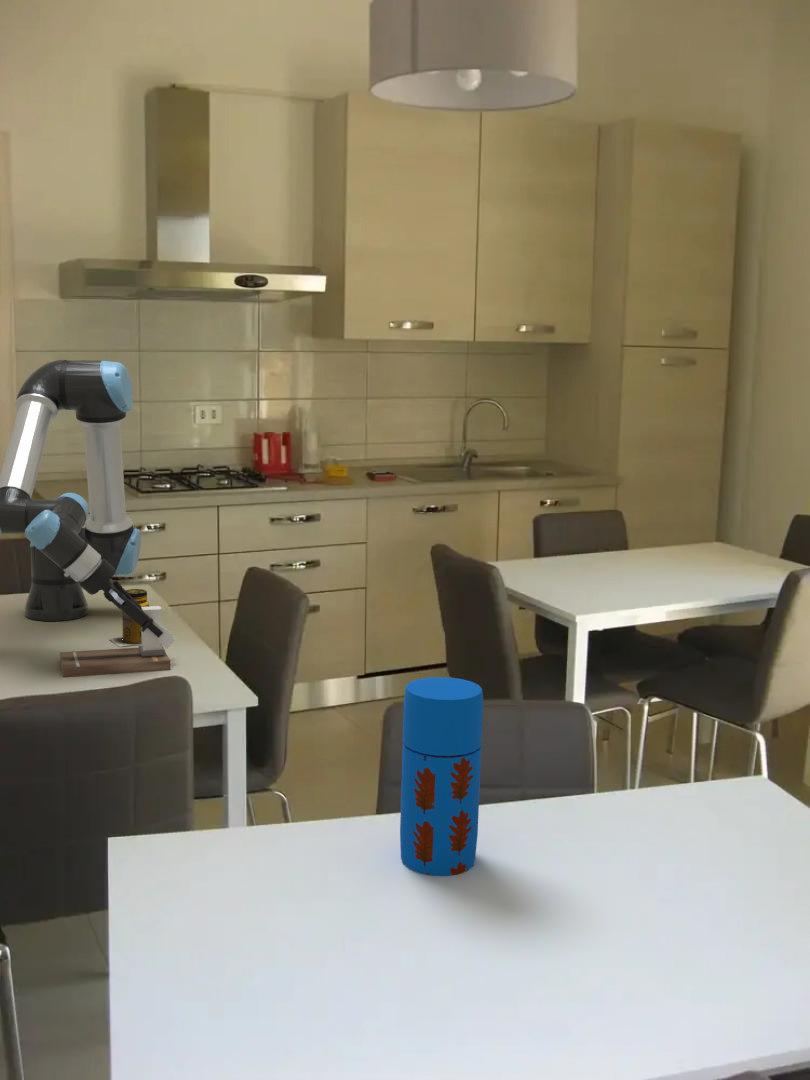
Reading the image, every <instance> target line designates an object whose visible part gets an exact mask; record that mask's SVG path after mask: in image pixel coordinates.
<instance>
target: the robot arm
mask: <svg viewBox="0 0 810 1080" xmlns="http://www.w3.org/2000/svg"><path fill="white" fill-rule="evenodd" d="M133 395H134V394H133V385H132V380H131V377H130V374H129V371H128V370H127V367H126V366H125V365H124V364H123V363H121V362H118V361H117V362H116V361H107V360H84V359H83V360H81V359H80V360H75V359H74V360H73V359H72V360H70V359H56V360H51V361H49V362H47V363H45V364H43V365H41V366H40V367H39V368H38V369H36V370H35V371H33V372H32V373H31V374H30V375H29V377H27V378H26V380H25V381H24V382H23V384H22V385H21V387H20V389H19V391H18V394H17V396H16V400H15V404H14V406H15V411H16V412H17V413H16V418H15V421H14V425H13V427H12V431H11V436H10V439H9V443H8V445H7V450H6V454H5V456H4V457H5V458H4V460H3V463H2V464H3V465H2V469H1V472H0V535H3V534H8V535H9V534H13V535H14V534H17V535H18V534H19V535H20V534H21V535H22V534H24V535H25V538H26V539H27V540H28V541H30V544H29V547H30V569H31V571H30V572H31V573H30V574H31V586H30V589H29V592H28V593H29V594H28V596H27V599H26V603H25V606H24V613H25V617H26V618H27V619H31V620H34V621H42V622H43V621H46V622H59V621H61V622H62V621H69V620H76V619H80V618H83V617H85V616H87V615H88V614H89V612H88V611H89V610H88V608H89V607H88V602H87V599H86V595H85V594H84V591H85V592H86V593H87V594H89V595H96V594H98V592H99V591H103V596H104V598H105V599H106V600H107V601H108V602H111V603H113V604H114V605H115V606H116V607H117V608H118V609H119V610H121V611H122V610H123V611H124V612H125V613H126V614H127V615H128V616H130V617H131V618H132V619H133V620H134V621H135V622H136V623H138V624H139V625H140V626H141V628H142V629H141V631H142V632H144V631H145V630H146V631H147V632H149V633H150V634H151V635H152V636H153V637H154V638H155V639H156V640H158V641H159V642H160V643H161V644H162V646H163V648H164V649H166V650H168V648H170V647H171V645H172V644H174V642H175V641H176V638H175V637H174V634H173V633H171V632H170V631H169V630H168V629H167V628H166V627H165V626H164V625H162V627H161V626H160V625H159V624H158V623H157V622H156V621H155V620H153V619H152V618H150V617H149V616H148V615H147V614H146V613H145V612H143V611H142V610H141V607H142V606H141V605H140V604H139V603H137V602H136V601H135V600H134V599H133V598H132V597H131V596H130V595H129V593H128V592H127V591H126V590H127V589H125V588H124V587H123V586H122V584H121V583H120V582H118V580H113V581H112V578H114V576H115V577H117V576H127V575H132V574H133V573H134V572H135V570H136V568H137V566H138V562H139V558H140V552H141V547H142V531H141V530H140V529H139V528H137V527H136V528H134V522H133V520H132V518H130V517H129V516H127V510H126V509H127V508H126V497H125V495H126V494H125V493H126V492H125V477H124V463H123V460H124V459H123V449H122V448H123V447H122V446H123V445H122V431H121V424H122V422H123V421H124V420H126V418H127V412H130V411H131V410H132V408H133V404H134V403H133V402H134V401H133ZM63 410H66V411H75V419H76V421H78V423H80V424H81V425H82V426H83V440H84V451H85V464H86V480H87V489H88V490H87V491H88V502H89V503H88V502H87V501H86V499H85V498H84V497H82V496H81V495H79V494H77V493H74V492H66V493H63V494H61V495H59V496H58V497H57V498H56V499H34V498H33V492H34V489H35V486H36V481H37V478H38V473H39V469H40V466H41V462H42V458H43V453H44V450H45V445H46V444H47V443H46V442H47V438H48V434H49V430H50V427H51V422H53V421H54V420H55V419H56V418H57V417H58V414H59V411H63ZM88 515H89V518H88ZM87 613H88V614H87ZM86 614H87V615H86Z"/></svg>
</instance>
